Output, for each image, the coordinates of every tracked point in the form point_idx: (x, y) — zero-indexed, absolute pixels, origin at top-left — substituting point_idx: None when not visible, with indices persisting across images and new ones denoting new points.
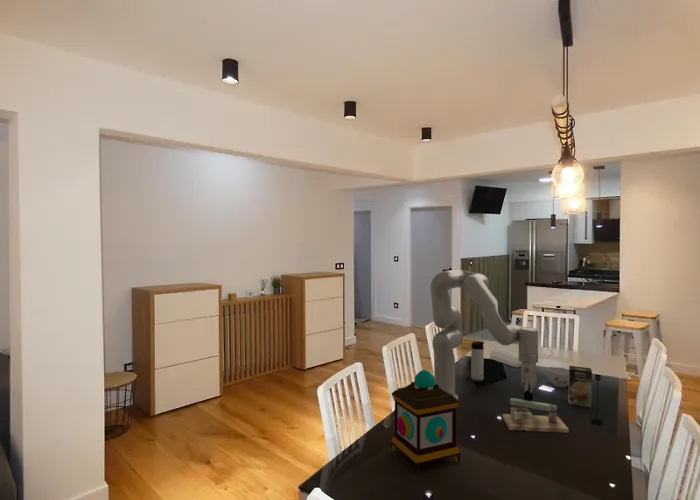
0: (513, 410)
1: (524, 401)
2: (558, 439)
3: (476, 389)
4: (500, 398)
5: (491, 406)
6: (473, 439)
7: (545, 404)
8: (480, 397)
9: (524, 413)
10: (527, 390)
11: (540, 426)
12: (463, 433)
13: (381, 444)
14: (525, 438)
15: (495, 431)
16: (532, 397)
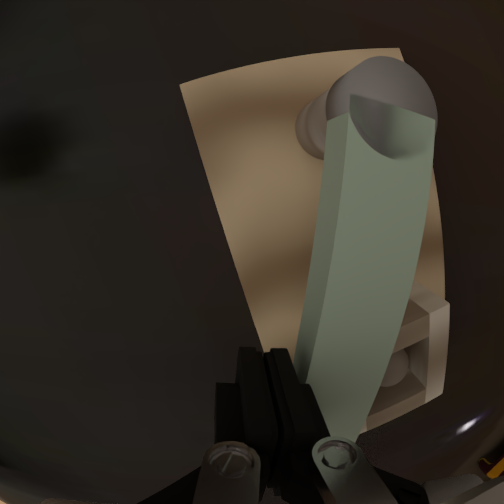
0: (399, 415)
1: (345, 413)
2: (476, 135)
3: (20, 470)
4: (29, 420)
5: (154, 461)
6: (483, 415)
7: (385, 195)
8: (80, 478)
9: (441, 350)
10: (472, 480)
11: (428, 222)
12: (449, 448)
13: None
14: (491, 285)
15: (443, 396)
16: (260, 378)
